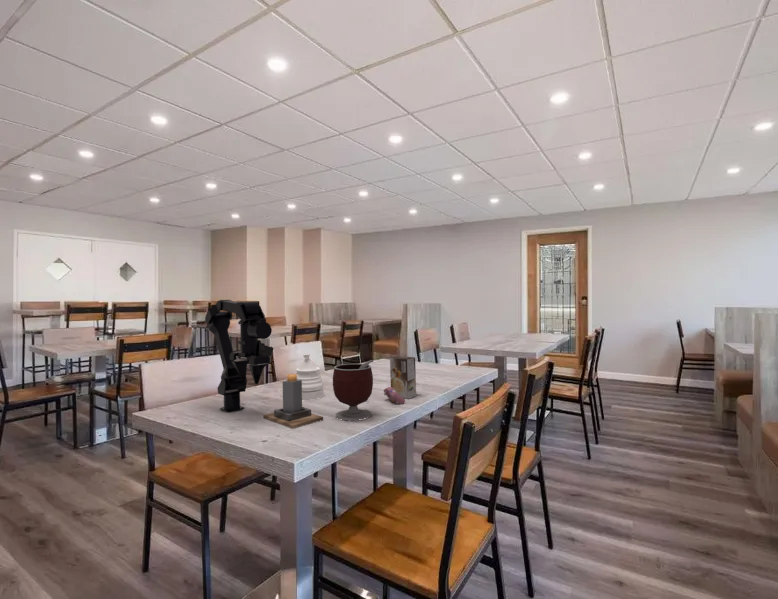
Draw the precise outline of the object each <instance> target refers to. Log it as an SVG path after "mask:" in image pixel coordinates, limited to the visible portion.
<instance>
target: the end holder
mask: <svg viewBox="0 0 778 599" xmlns="http://www.w3.org/2000/svg"><path fill="white" fill-rule="evenodd" d="M262 418H263V419H265V418H266V420H268V421H271V422H273V423H277V424H278V425H282V426H285V427H288V428H290V429H296V427H297V428H299V426H300V427H304V426H306V424H307V425H310V423H311V424H313V422H314V423H317V422H316V421H318V422H320V420H321V421H324V417H323V416H322V415H319V414H315V413H312V409H311V408H307V407H303V406H302V411H299V412H295V413H291V414H289V413H286V412H283V407H282V408H279V409H274V410H273V412H270V413H265V414H262ZM303 425H304V426H303Z"/></svg>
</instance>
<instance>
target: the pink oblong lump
mask: <svg viewBox="0 0 778 599" xmlns="http://www.w3.org/2000/svg"><path fill="white" fill-rule="evenodd" d="M383 392H384V393H383V395H384V396H387V398H388V399H389V401H390V402H392V403H393V404H395V403H398V404H400V405H403V404H405V403H406V400H405V399H406V398H403V397H401V396H400V395H399V394H398V393H397V392H396V391H395V390H394V388H392V387H391V386H388V387H386V388H385V387H384V389H383Z"/></svg>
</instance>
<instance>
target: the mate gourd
mask: <svg viewBox="0 0 778 599" xmlns="http://www.w3.org/2000/svg"><path fill="white" fill-rule="evenodd" d="M371 363H374V360H373V359H370V360H368V361H366V362H364V363H345V364H344V363H342V364H338V365H335V366H334V367H333V373H332V388H333V394H334V397H336V398H335V399H337V401H338V402H340V403H341V404H345V405H347V406H348V409H344V410H341V411H338V412H336V413H335V418H336V419H337V418H338V419H337V420H339V419H342V420H341V421H343V420H359V419H364V418H367V417H370V416H372V412H371V411H369V410H366V409H361V408H359V407H358V406H359V405H361V404H364V403H365V402H367V401H368V400H369V398H371V395H372V393H373V387H374V375H373V371H372V370H373V369H372V366H371V365H370V364H371ZM370 418H371V417H370Z"/></svg>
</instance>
